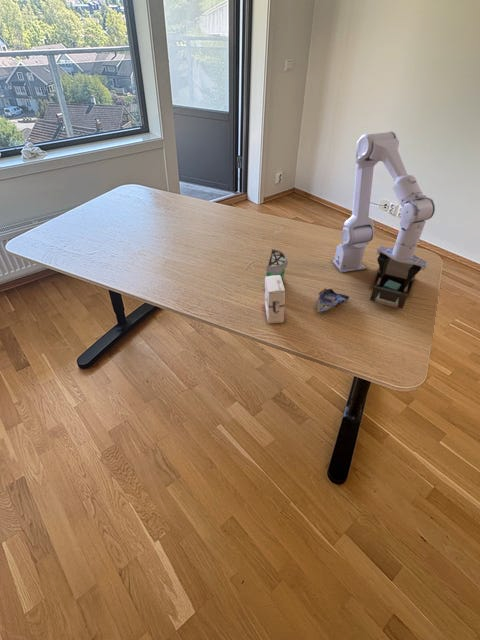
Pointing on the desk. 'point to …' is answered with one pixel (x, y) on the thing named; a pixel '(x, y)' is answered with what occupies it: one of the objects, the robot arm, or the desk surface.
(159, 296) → the desk surface
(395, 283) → the block
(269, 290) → the ink box
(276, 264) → the food container
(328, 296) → the snack package
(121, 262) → the desk surface
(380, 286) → the drawer
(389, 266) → the cabinet
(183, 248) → the desk surface
